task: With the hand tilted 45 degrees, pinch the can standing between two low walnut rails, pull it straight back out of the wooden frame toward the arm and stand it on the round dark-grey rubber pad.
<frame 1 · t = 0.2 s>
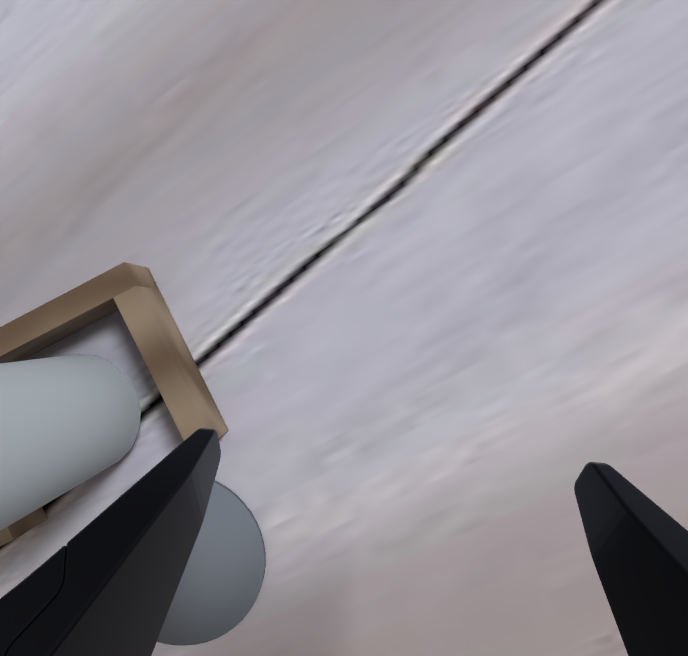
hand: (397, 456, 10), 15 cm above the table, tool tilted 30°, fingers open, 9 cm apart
can: (94, 409, 26), on the table
pad: (181, 556, 25), on the table
wooden frame: (92, 410, 25), on the table
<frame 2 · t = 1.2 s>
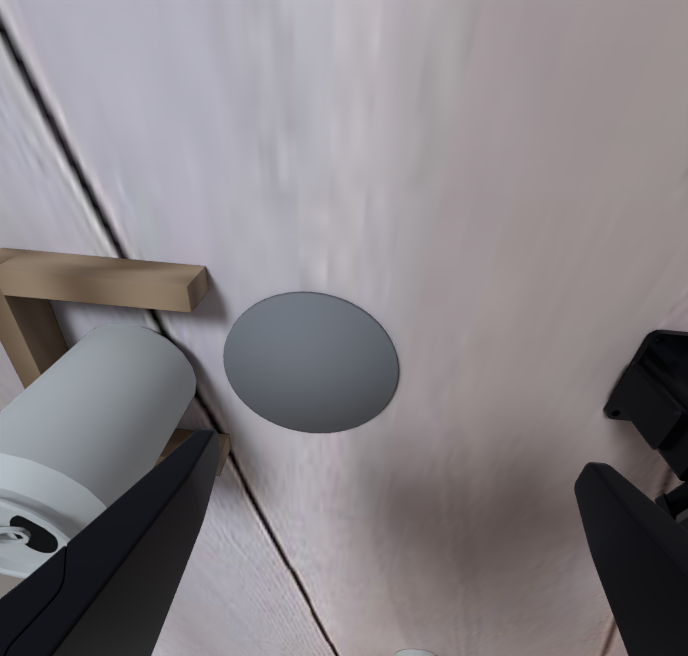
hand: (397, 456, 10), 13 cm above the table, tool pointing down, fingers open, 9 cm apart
can: (146, 362, 26), on the table
pad: (311, 368, 25), on the table
wooden frame: (145, 364, 26), on the table
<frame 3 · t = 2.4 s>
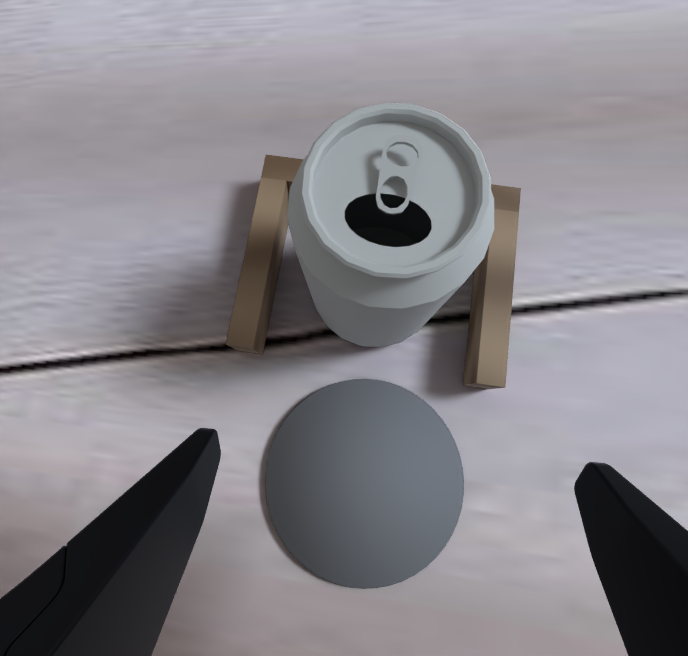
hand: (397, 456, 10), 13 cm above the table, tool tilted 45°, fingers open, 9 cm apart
can: (373, 290, 24), on the table
pad: (363, 477, 22), on the table
wooden frame: (373, 289, 24), on the table
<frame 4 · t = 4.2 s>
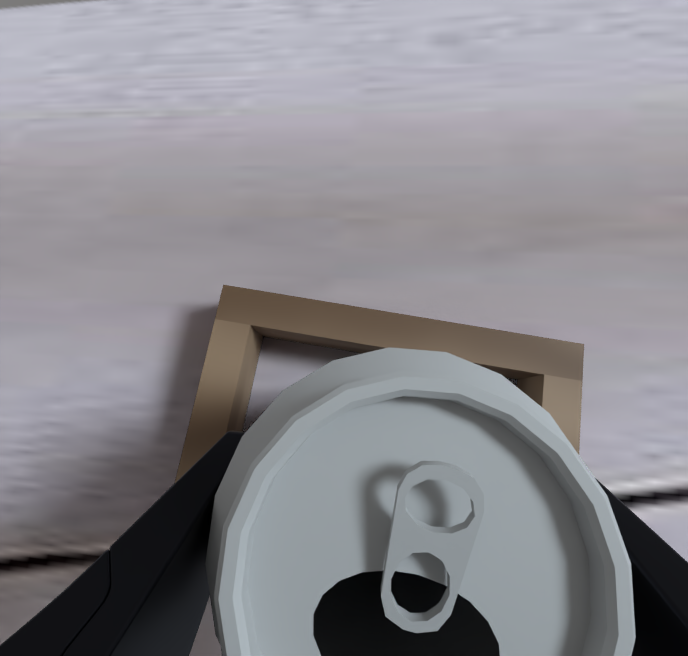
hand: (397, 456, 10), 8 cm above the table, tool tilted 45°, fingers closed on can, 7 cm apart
can: (371, 467, 17), on the table, touching gripper
wooden frame: (372, 468, 17), on the table
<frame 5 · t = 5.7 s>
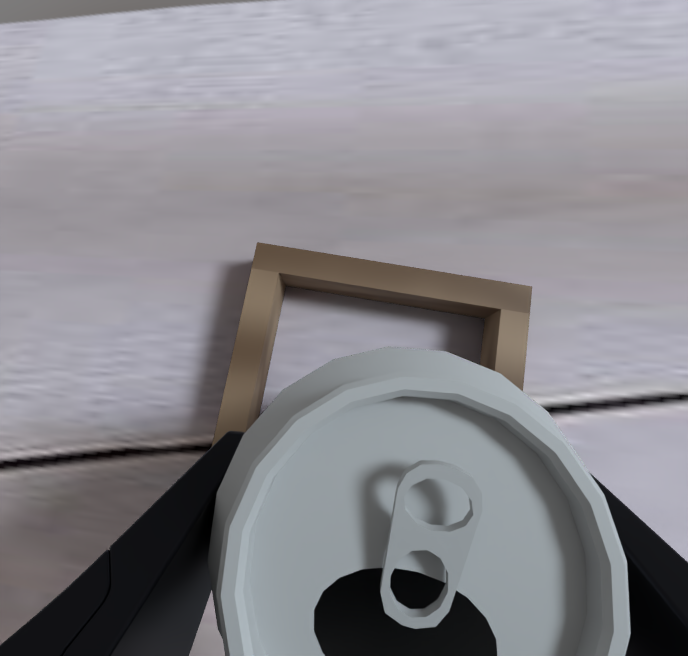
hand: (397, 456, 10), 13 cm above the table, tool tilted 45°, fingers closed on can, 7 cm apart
can: (371, 463, 18), point 4 cm above the table, touching gripper
wooden frame: (371, 385, 23), on the table
when the fingers open (9 cm above the table, at t = 7.5 s): can stays where it is, resting on pad.
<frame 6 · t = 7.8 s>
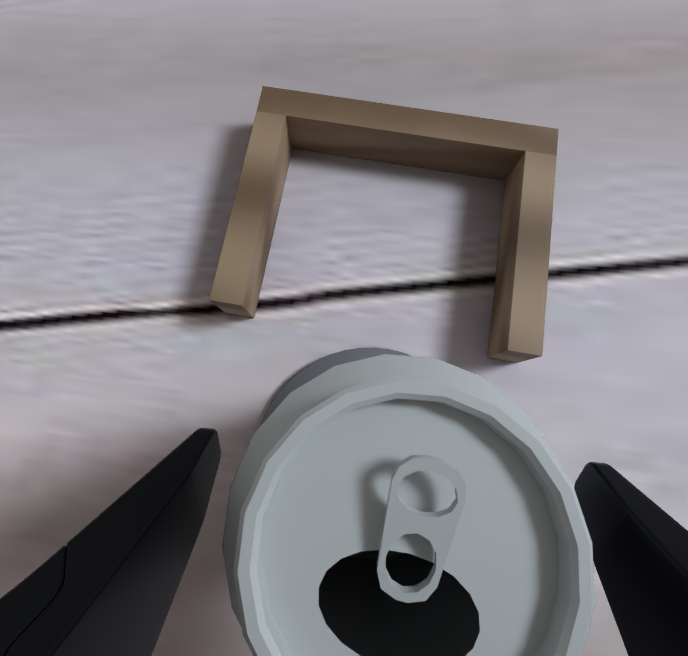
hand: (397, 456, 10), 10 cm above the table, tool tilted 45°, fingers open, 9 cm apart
can: (370, 463, 18), resting on pad
pad: (370, 463, 19), on the table
wooden frame: (384, 246, 21), on the table
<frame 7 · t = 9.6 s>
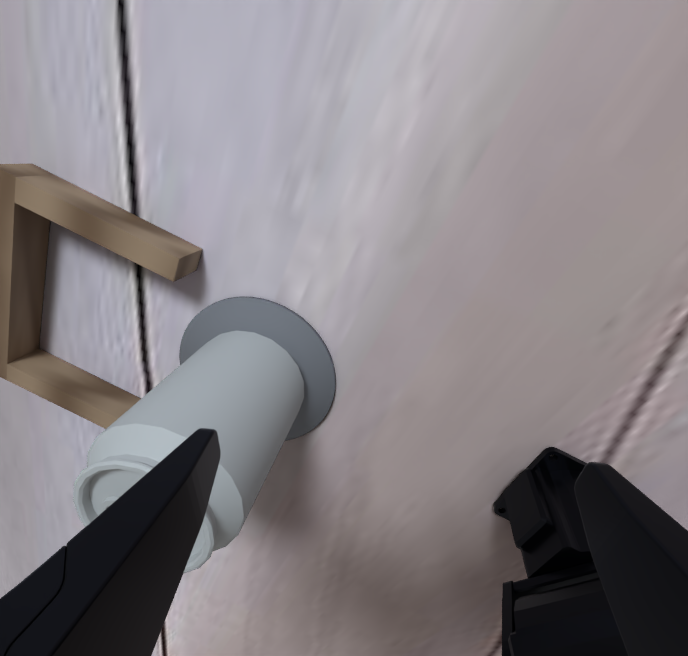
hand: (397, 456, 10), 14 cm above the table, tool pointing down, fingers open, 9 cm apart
can: (255, 374, 27), resting on pad
pad: (257, 372, 27), on the table
wooden frame: (110, 312, 27), on the table
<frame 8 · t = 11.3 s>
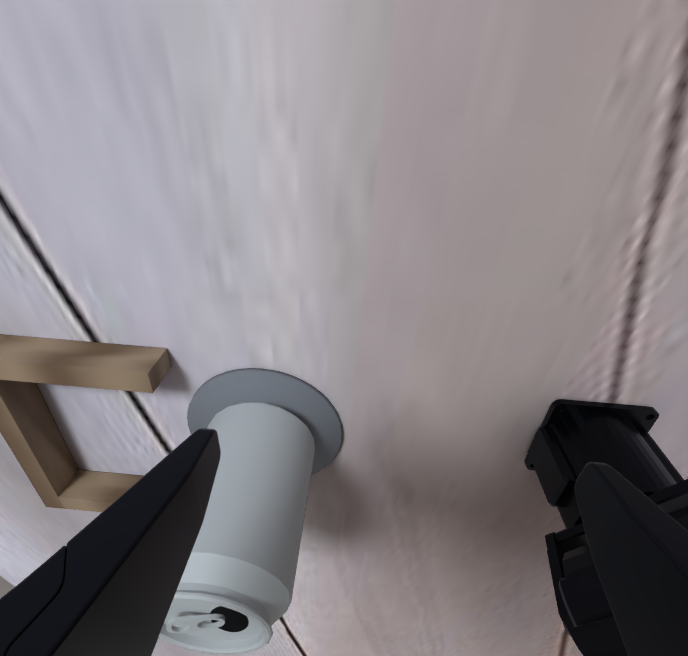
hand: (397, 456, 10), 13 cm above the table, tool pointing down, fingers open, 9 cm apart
can: (265, 430, 28), resting on pad
pad: (265, 428, 28), on the table
wooden frame: (119, 424, 29), on the table
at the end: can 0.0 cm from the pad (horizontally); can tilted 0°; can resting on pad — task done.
